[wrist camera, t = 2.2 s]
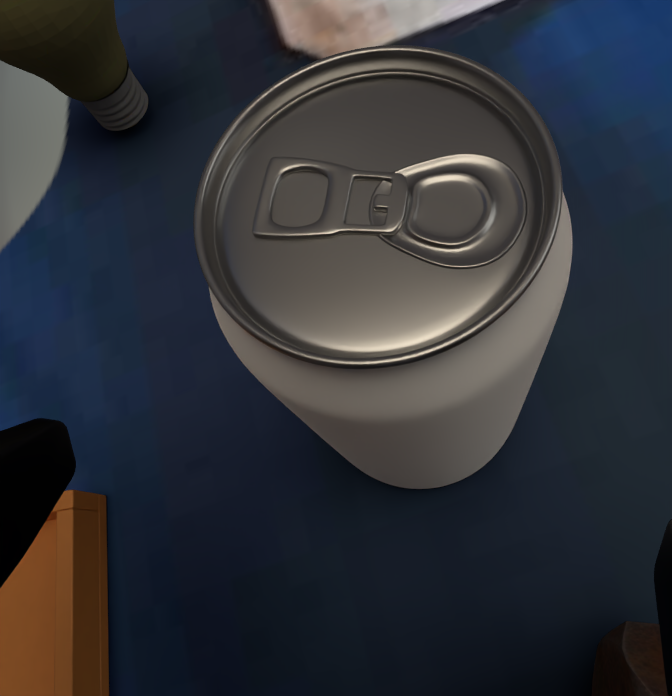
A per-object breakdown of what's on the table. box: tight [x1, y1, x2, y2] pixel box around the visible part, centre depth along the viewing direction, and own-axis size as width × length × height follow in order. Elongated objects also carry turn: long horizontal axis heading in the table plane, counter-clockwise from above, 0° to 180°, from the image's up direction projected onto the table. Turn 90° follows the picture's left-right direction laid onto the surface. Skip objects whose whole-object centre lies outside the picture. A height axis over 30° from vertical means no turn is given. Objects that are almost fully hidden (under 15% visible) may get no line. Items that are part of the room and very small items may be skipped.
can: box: [194, 45, 572, 489], centre depth 15 cm, size 6×6×12 cm
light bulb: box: [0, 0, 148, 131], centre depth 22 cm, size 6×6×10 cm
